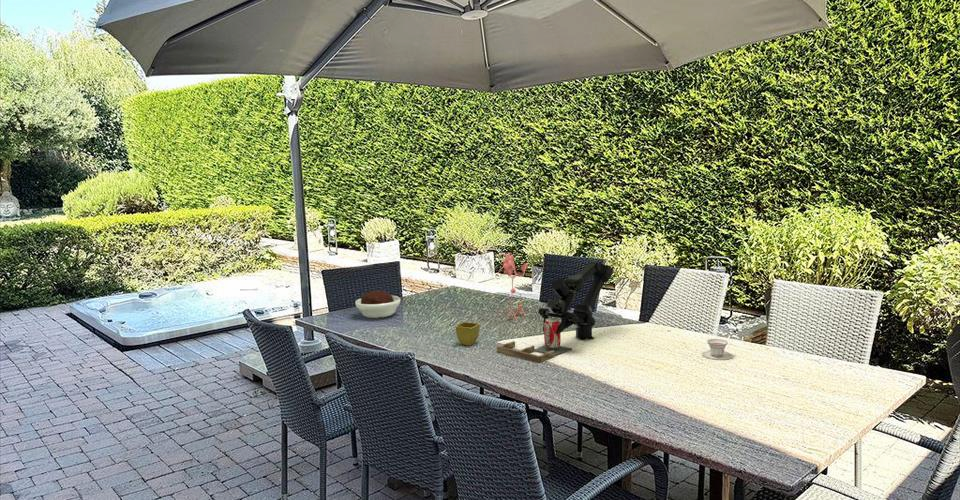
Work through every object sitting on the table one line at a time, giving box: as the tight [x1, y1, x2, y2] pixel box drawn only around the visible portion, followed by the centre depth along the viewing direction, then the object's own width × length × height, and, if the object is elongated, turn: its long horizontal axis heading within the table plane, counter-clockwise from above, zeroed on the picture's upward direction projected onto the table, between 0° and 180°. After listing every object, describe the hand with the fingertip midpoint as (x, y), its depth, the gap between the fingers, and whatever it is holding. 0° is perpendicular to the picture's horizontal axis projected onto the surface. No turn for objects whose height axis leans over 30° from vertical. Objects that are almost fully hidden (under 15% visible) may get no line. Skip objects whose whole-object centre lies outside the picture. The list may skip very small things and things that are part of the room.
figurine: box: [494, 252, 532, 321], centre depth 317 cm, size 15×26×35 cm, turn 146°
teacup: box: [701, 338, 734, 361], centre depth 242 cm, size 12×12×6 cm
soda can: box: [543, 317, 562, 348], centre depth 256 cm, size 7×7×12 cm
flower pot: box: [454, 321, 481, 346], centre depth 272 cm, size 9×9×9 cm
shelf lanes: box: [496, 340, 556, 364], centre depth 253 cm, size 11×24×2 cm, turn 45°
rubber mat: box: [534, 345, 573, 357], centre depth 257 cm, size 12×12×1 cm
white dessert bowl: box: [355, 290, 401, 319], centre depth 332 cm, size 25×25×15 cm
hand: (550, 332), depth 255 cm, fingers closed on soda can, 7 cm apart
